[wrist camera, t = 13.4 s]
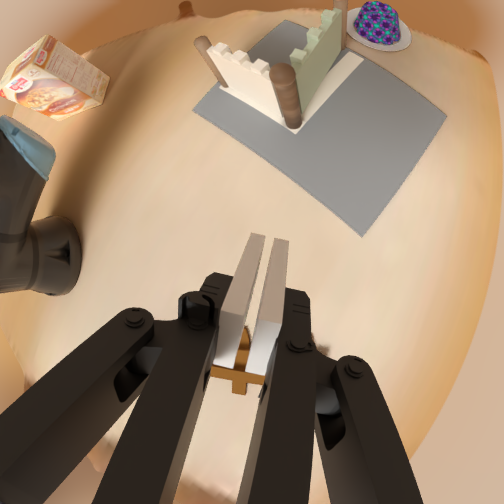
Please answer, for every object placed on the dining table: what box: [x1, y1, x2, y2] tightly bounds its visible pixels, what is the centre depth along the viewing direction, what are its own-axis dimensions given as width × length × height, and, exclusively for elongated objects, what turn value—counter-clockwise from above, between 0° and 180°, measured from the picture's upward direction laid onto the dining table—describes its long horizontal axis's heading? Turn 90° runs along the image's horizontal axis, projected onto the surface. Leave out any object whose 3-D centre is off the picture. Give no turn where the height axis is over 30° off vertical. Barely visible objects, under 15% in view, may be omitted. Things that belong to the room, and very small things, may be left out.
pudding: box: [347, 1, 412, 51], centre depth 29 cm, size 12×12×5 cm
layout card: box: [192, 20, 447, 237], centre depth 34 cm, size 30×23×1 cm
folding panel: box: [290, 0, 348, 114], centre depth 28 cm, size 15×2×10 cm, turn 150°
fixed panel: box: [194, 36, 284, 118], centre depth 31 cm, size 12×2×11 cm, turn 50°
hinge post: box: [269, 63, 302, 129], centre depth 28 cm, size 3×3×13 cm
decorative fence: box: [210, 328, 312, 395], centre depth 36 cm, size 25×2×10 cm
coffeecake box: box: [0, 34, 110, 121], centre depth 35 cm, size 15×7×20 cm, turn 86°
